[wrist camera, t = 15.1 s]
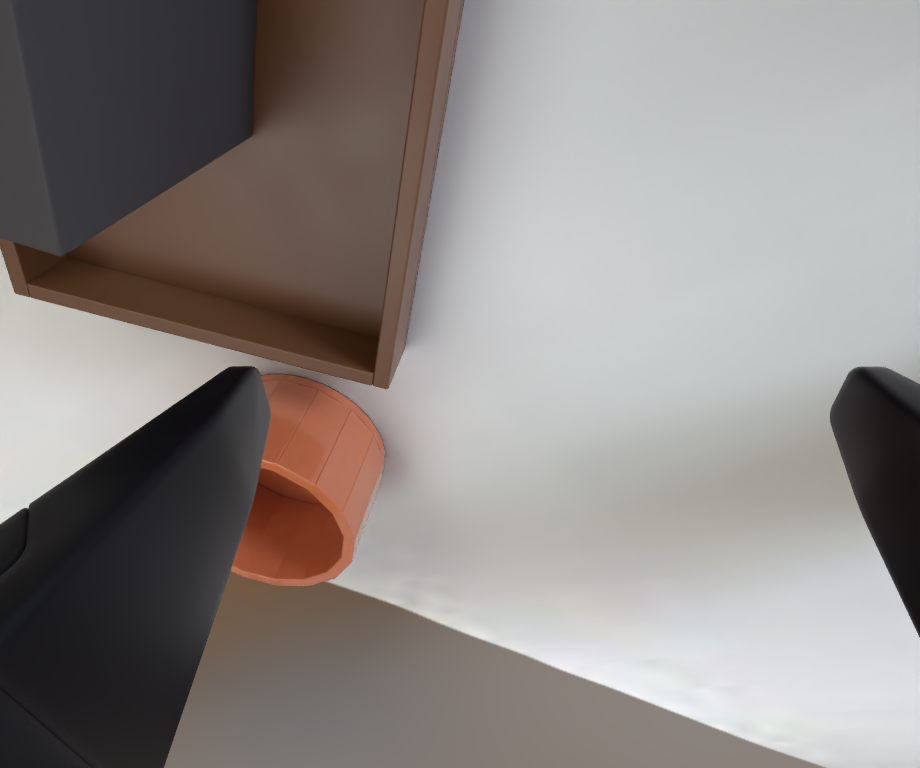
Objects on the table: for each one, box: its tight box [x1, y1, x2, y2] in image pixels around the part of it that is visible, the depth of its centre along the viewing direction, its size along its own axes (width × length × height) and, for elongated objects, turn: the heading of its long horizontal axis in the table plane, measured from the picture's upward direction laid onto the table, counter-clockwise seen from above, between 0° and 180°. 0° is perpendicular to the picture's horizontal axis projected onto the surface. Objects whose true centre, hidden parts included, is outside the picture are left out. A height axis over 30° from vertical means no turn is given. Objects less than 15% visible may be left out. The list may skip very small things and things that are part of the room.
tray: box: [0, 0, 464, 389], centre depth 17 cm, size 14×19×3 cm
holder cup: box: [231, 374, 385, 586], centre depth 26 cm, size 8×8×5 cm
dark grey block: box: [0, 0, 257, 256], centre depth 14 cm, size 3×5×9 cm, turn 165°
